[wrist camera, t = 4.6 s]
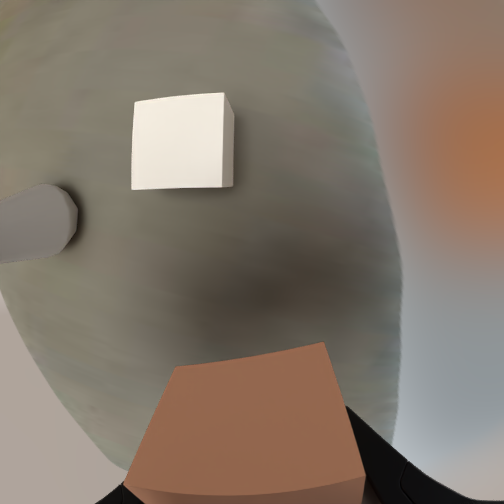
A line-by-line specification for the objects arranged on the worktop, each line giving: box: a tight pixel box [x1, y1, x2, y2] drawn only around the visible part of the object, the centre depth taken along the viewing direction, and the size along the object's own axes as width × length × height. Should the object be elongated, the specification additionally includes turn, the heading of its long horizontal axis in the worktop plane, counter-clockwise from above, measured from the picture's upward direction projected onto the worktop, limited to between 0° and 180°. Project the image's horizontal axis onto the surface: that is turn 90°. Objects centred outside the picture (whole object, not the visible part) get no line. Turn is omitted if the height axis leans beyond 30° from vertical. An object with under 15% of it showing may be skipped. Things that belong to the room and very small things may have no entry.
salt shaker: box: [0, 184, 78, 264], centre depth 13 cm, size 6×6×13 cm
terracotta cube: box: [123, 342, 366, 504], centre depth 7 cm, size 5×5×5 cm
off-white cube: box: [132, 93, 234, 190], centre depth 15 cm, size 5×5×5 cm
